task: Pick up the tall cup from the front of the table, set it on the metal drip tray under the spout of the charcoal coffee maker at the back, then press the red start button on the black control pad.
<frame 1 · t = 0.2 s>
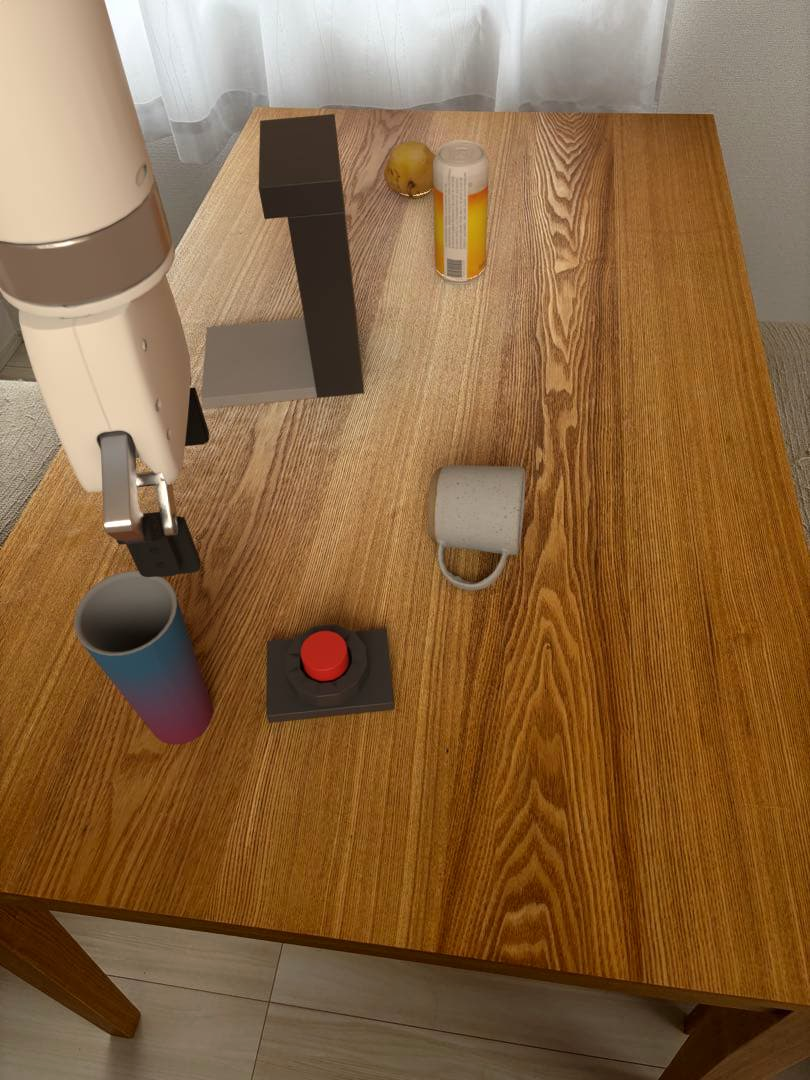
hand: (178, 502, 50), 25 cm above the table, tool pointing down, fingers open, 9 cm apart
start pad: (330, 678, 71), on the table
start button: (324, 655, 68), point 3 cm above the table, slide at 0.1 cm
ceramic mug: (478, 547, 79), on the table
fruit: (411, 194, 117), on the table
cup: (182, 716, 69), on the table
coffee maker: (279, 365, 96), on the table
beer can: (460, 273, 105), on the table
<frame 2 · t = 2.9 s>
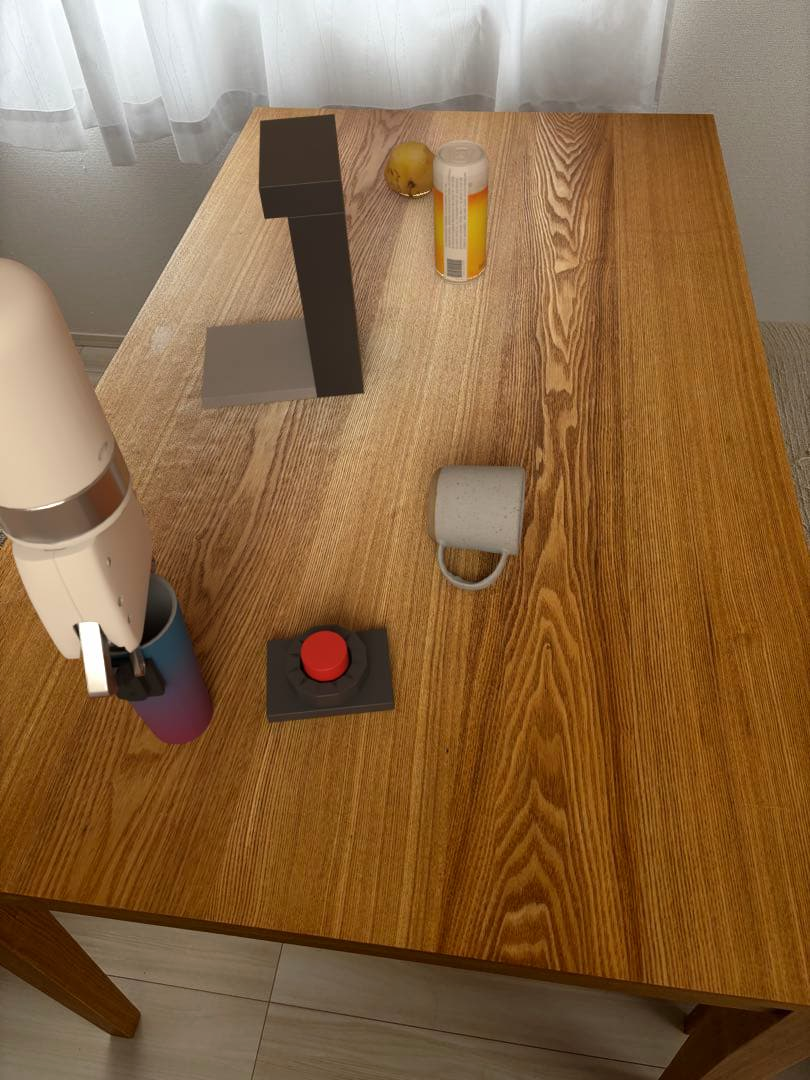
hand: (146, 650, 61), 10 cm above the table, tool pointing down, fingers closed on cup, 6 cm apart
cup: (182, 716, 69), on the table, touching gripper
everything else where it was.
when the fingers open (11 cm above the table, at t = 10.7 s): cup stays where it is, resting on coffee maker.
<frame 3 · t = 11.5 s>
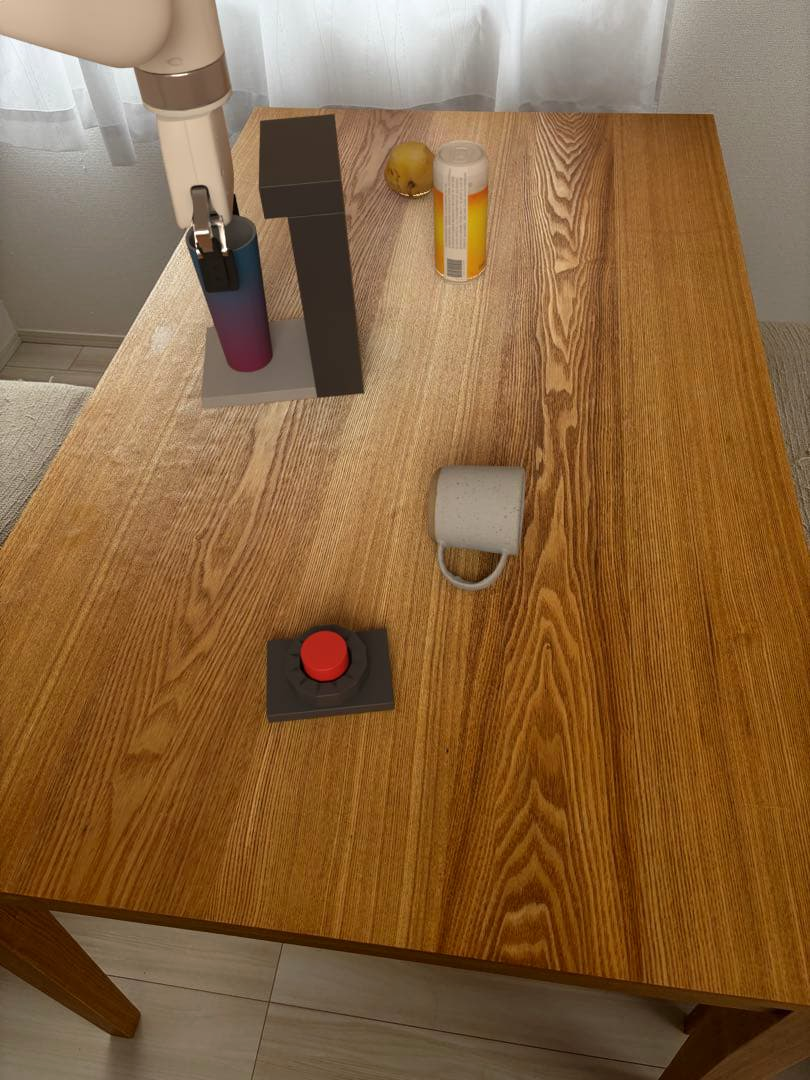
hand: (225, 260, 85), 14 cm above the table, tool pointing down, fingers open, 9 cm apart
cup: (250, 358, 95), point 1 cm above the table, touching coffee maker
everything else where it was.
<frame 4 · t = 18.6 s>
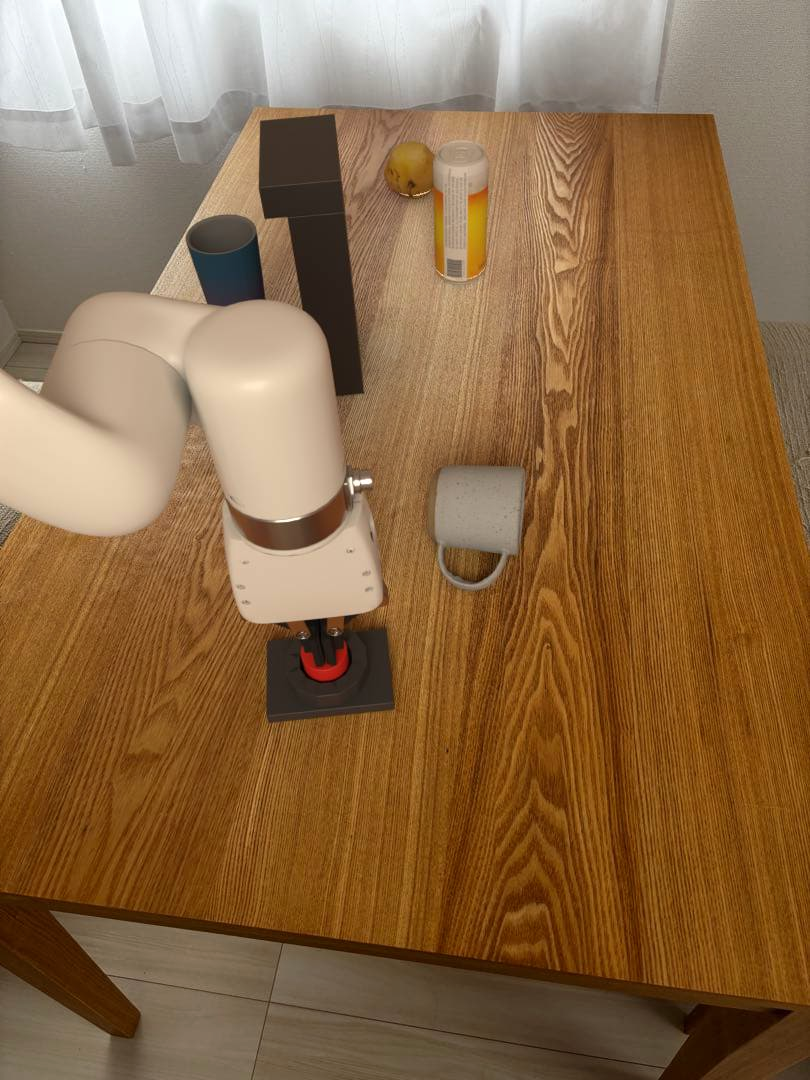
hand: (325, 650, 67), 4 cm above the table, tool pointing down, fingers closed
start button: (325, 656, 68), point 3 cm above the table, slide at 0.1 cm, touching gripper
everything else where it was.
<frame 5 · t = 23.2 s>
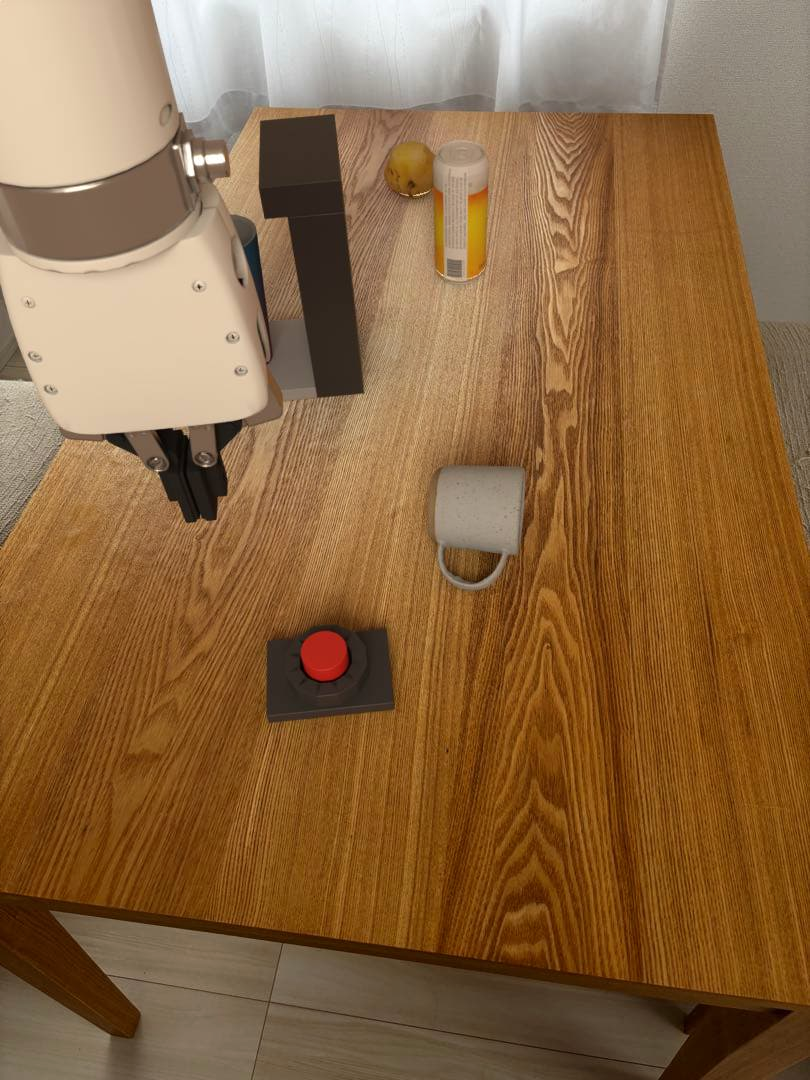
hand: (203, 501, 47), 27 cm above the table, tool pointing down, fingers closed
start button: (324, 655, 68), point 3 cm above the table, slide at 0.1 cm
everything else where it was.
at the end: cup 0.1 cm from the target spot on the coffee maker, point 1.3 cm above the coffee maker's base; cup tilted 0°; start button pushed in 1.1 cm at the most during the clip, back to where it started at the end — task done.
